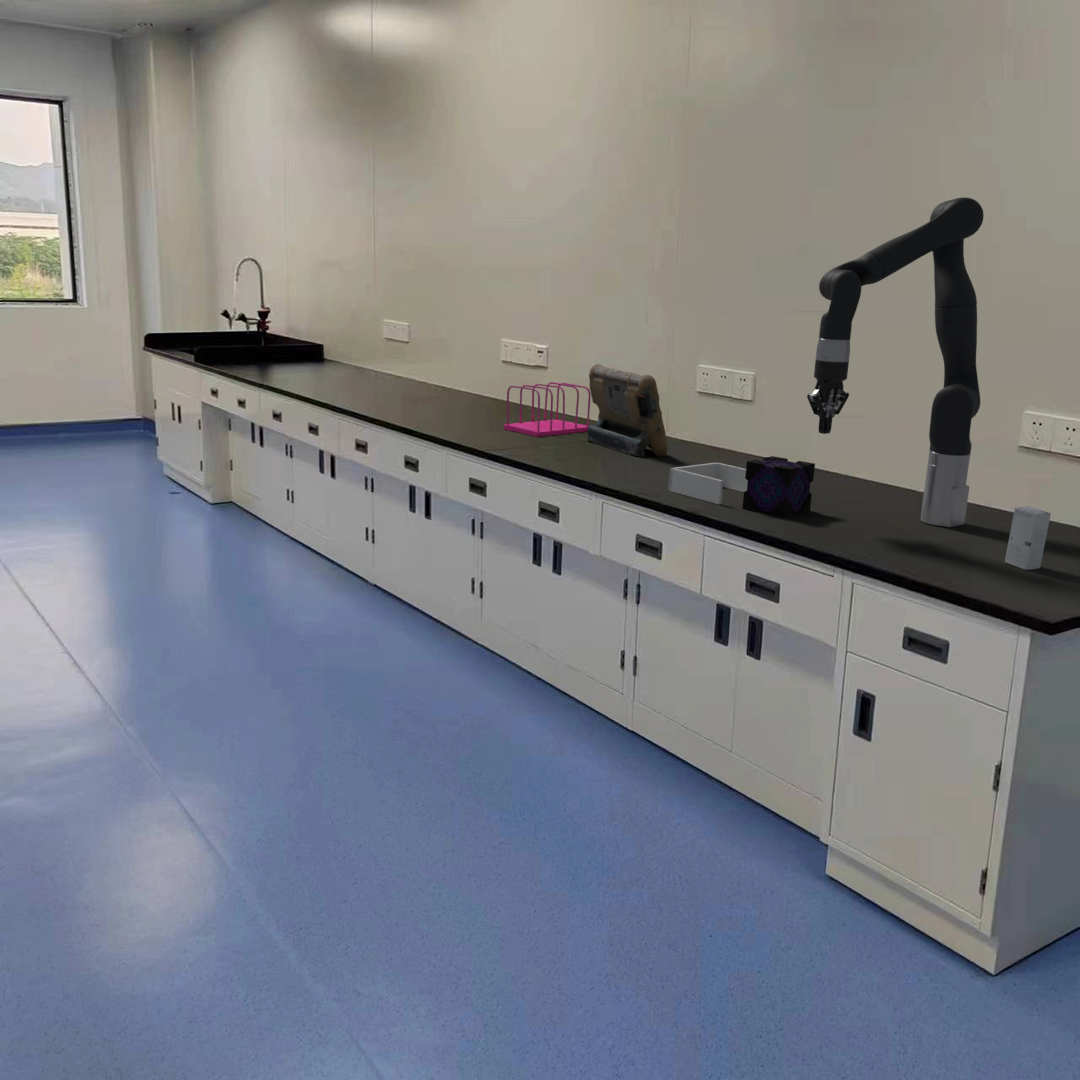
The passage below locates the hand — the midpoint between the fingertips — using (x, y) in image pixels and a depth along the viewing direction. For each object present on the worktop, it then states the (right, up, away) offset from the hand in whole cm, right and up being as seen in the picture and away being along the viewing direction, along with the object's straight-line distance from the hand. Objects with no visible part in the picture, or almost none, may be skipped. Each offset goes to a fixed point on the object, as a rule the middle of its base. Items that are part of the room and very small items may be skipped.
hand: (824, 433), depth 262 cm
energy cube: (-8, -18, +15) cm, 24 cm away
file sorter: (-64, +12, +119) cm, 136 cm away
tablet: (-40, +4, +91) cm, 99 cm away
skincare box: (+35, -31, -27) cm, 54 cm away
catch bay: (-20, -13, +30) cm, 38 cm away
